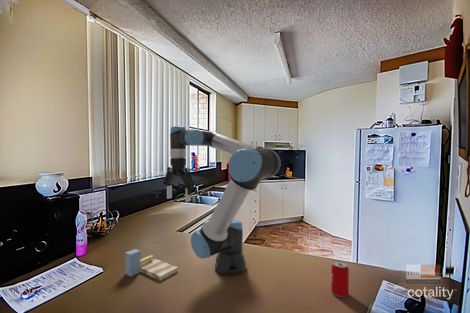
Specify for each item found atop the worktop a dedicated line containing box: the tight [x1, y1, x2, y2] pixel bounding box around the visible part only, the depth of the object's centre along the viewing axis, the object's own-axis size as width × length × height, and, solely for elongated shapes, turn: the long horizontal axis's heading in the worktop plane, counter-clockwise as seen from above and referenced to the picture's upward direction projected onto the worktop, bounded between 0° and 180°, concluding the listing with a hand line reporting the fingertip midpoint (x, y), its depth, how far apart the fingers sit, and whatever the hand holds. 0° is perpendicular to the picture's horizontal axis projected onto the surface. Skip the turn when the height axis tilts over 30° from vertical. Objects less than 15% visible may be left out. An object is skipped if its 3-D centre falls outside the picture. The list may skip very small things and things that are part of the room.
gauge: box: [124, 248, 155, 278], centre depth 116 cm, size 4×13×10 cm, turn 145°
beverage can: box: [330, 260, 350, 298], centre depth 96 cm, size 6×6×12 cm
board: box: [140, 257, 179, 282], centre depth 116 cm, size 20×10×2 cm, turn 55°
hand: (178, 199), depth 123 cm, fingers open, 13 cm apart
